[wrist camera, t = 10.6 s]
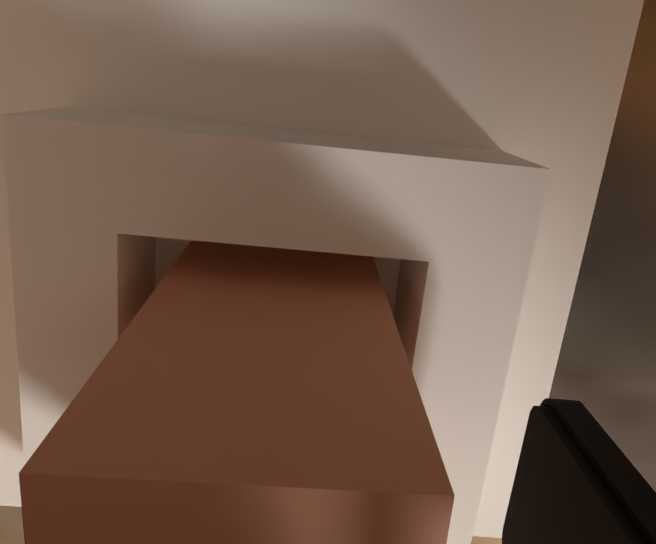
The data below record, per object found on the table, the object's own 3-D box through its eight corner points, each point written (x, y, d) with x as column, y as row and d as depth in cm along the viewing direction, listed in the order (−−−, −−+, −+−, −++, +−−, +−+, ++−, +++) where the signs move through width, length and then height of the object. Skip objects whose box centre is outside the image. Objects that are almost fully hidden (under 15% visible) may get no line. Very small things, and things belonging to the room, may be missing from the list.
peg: (371, 253, 15) (455, 496, 6) (354, 410, 16) (402, 789, 8) (190, 240, 15) (19, 473, 6) (188, 400, 16) (45, 778, 7)
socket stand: (688, -282, 12) (854, -440, 9) (504, 515, 18) (554, 628, 15) (-59, -390, 12) (-240, -620, 8) (5, 481, 18) (-79, 592, 14)
